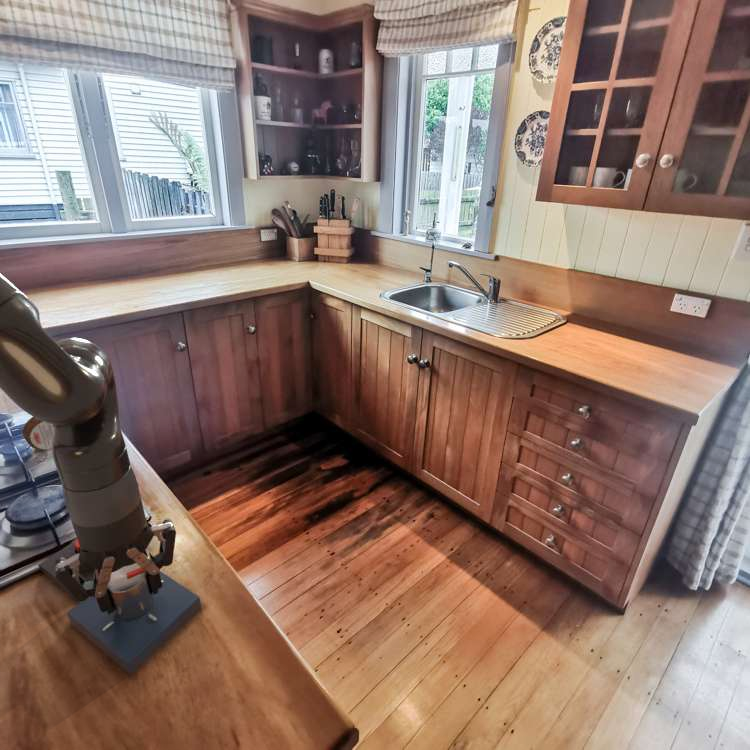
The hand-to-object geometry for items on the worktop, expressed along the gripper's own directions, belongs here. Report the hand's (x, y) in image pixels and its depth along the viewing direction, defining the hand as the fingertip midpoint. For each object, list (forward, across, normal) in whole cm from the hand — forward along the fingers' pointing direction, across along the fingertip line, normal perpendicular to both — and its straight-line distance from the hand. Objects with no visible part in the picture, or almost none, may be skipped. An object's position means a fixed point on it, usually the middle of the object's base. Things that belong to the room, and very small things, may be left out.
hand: (133, 598), depth 63 cm
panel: (+4, 0, 0) cm, 4 cm away
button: (+1, -4, +14) cm, 14 cm away
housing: (+4, -4, +14) cm, 15 cm away
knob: (+1, 0, 0) cm, 1 cm away
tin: (+4, -4, +53) cm, 54 cm away
